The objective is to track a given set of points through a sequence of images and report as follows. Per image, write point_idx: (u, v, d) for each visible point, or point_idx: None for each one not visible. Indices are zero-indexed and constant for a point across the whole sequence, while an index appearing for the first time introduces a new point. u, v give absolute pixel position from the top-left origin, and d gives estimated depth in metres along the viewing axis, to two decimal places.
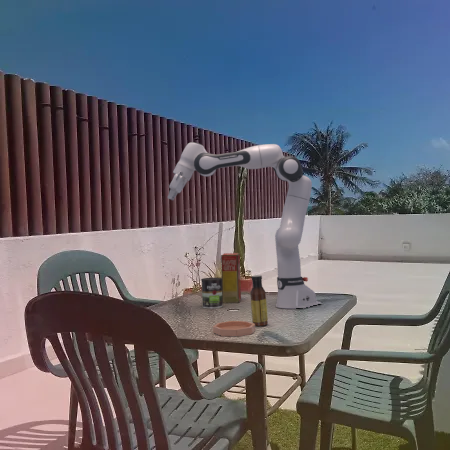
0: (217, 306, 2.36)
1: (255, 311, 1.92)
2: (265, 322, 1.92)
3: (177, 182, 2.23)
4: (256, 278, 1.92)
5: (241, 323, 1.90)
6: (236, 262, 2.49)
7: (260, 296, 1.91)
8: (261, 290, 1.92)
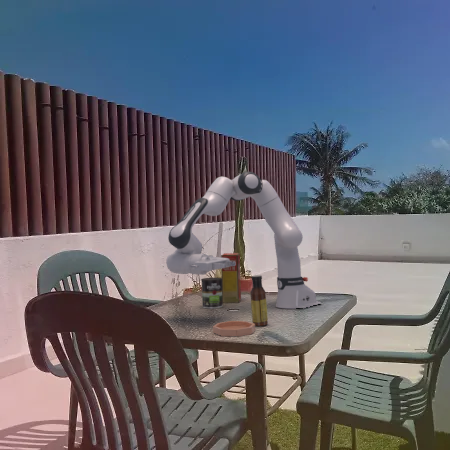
0: (217, 306, 2.36)
1: (255, 311, 1.92)
2: (265, 322, 1.92)
3: (200, 264, 1.95)
4: (256, 278, 1.92)
5: (241, 323, 1.90)
6: (236, 262, 2.49)
7: (260, 296, 1.91)
8: (261, 290, 1.92)
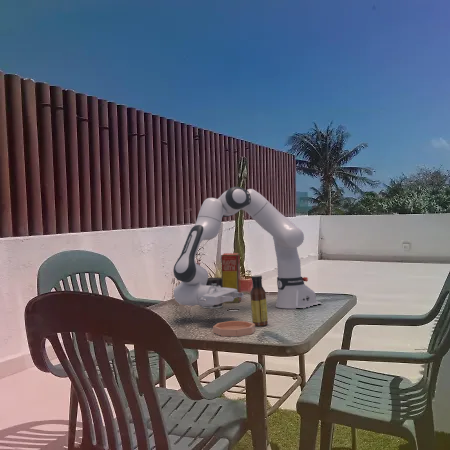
0: (217, 306, 2.36)
1: (255, 311, 1.92)
2: (265, 322, 1.92)
3: (208, 297, 1.94)
4: (256, 278, 1.92)
5: (241, 323, 1.90)
6: (236, 262, 2.49)
7: (260, 296, 1.91)
8: (261, 290, 1.92)
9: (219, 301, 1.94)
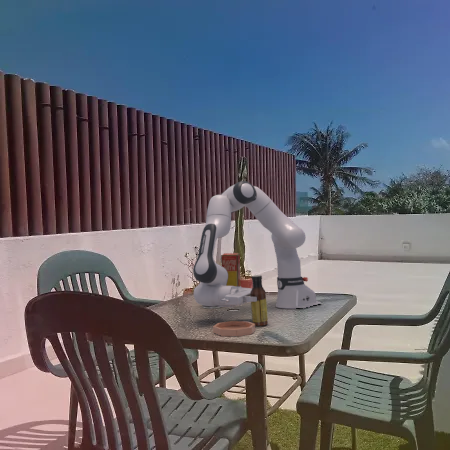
0: (217, 306, 2.36)
1: (255, 311, 1.92)
2: (265, 322, 1.92)
3: (231, 298, 1.89)
4: (256, 278, 1.92)
5: (241, 323, 1.90)
6: (236, 262, 2.49)
7: (260, 296, 1.91)
8: (261, 290, 1.92)
9: (242, 302, 1.89)
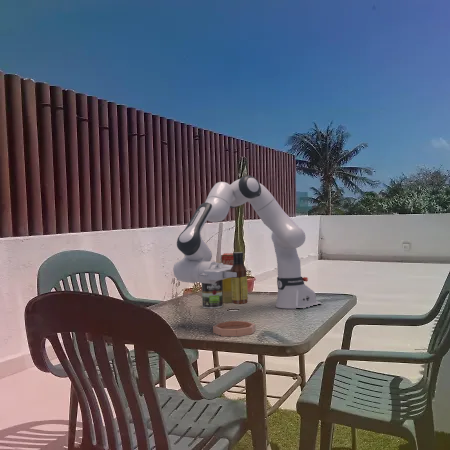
0: (217, 306, 2.36)
1: (235, 288, 1.85)
2: (245, 300, 1.85)
3: (209, 273, 1.82)
4: (237, 254, 1.86)
5: (241, 323, 1.90)
6: None
7: (240, 273, 1.85)
8: (242, 267, 1.86)
9: (221, 277, 1.82)
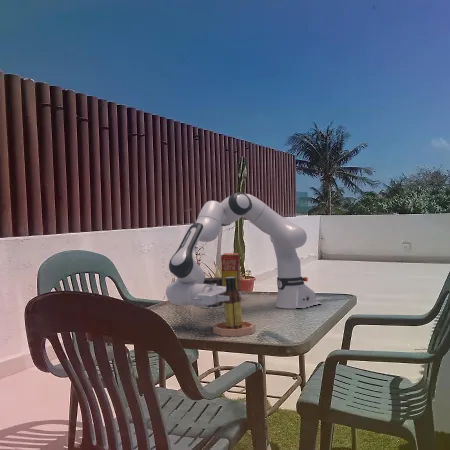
0: (217, 306, 2.36)
1: (229, 314, 1.81)
2: (239, 326, 1.82)
3: (202, 297, 1.79)
4: (229, 279, 1.82)
5: None
6: (236, 262, 2.49)
7: (233, 298, 1.81)
8: (235, 292, 1.82)
9: (214, 301, 1.79)
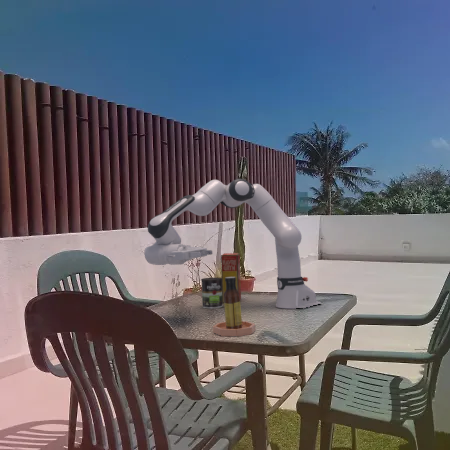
0: (217, 306, 2.36)
1: (229, 314, 1.81)
2: (239, 326, 1.82)
3: (176, 253, 1.96)
4: (229, 279, 1.82)
5: None
6: (236, 262, 2.49)
7: (233, 298, 1.81)
8: (235, 292, 1.82)
9: (187, 257, 1.97)
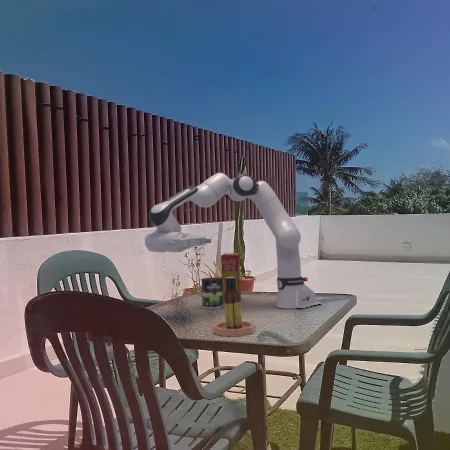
0: (217, 306, 2.36)
1: (229, 314, 1.81)
2: (239, 326, 1.82)
3: (175, 240, 2.00)
4: (229, 279, 1.82)
5: None
6: (236, 262, 2.49)
7: (233, 298, 1.81)
8: (235, 292, 1.82)
9: (186, 244, 2.00)
